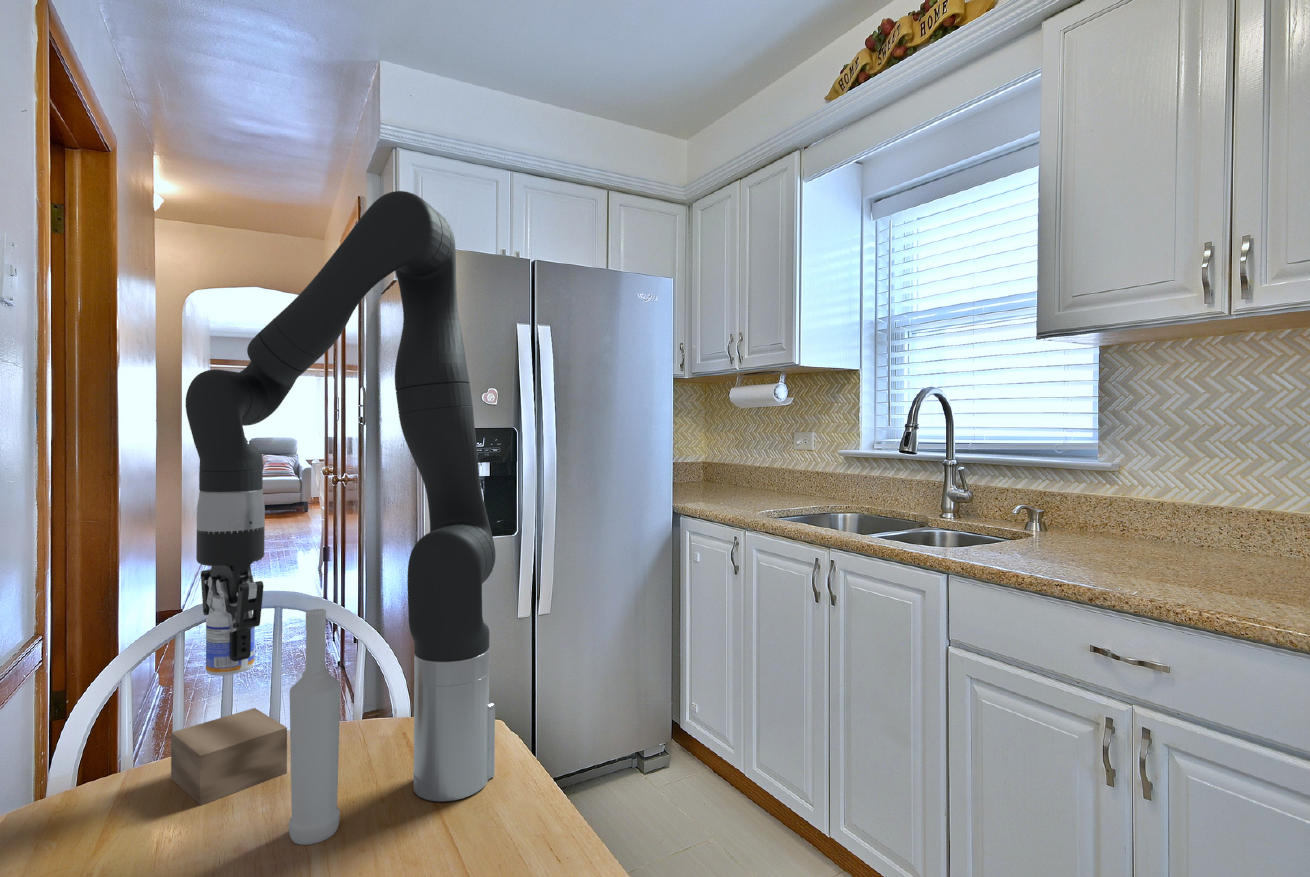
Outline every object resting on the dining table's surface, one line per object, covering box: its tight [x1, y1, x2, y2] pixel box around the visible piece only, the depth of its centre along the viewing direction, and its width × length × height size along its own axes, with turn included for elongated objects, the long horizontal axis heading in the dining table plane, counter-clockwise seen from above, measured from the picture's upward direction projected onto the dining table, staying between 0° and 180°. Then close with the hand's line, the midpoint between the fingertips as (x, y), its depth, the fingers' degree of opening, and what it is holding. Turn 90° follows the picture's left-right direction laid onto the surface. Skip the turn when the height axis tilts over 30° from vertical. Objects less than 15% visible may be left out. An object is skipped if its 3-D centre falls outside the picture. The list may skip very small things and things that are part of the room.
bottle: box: [288, 608, 341, 846], centre depth 76 cm, size 5×5×25 cm
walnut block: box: [170, 707, 288, 806], centre depth 89 cm, size 10×10×6 cm
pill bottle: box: [205, 595, 256, 677], centre depth 88 cm, size 5×5×10 cm
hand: (230, 653), depth 88 cm, fingers closed on pill bottle, 5 cm apart
